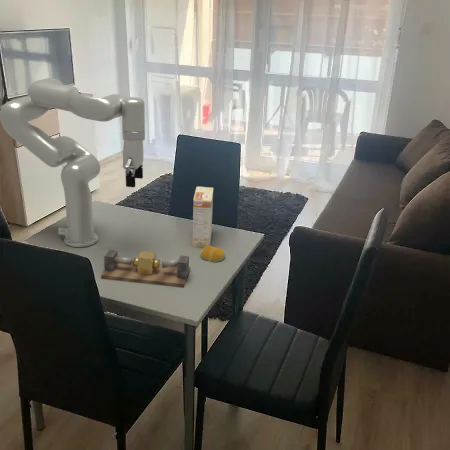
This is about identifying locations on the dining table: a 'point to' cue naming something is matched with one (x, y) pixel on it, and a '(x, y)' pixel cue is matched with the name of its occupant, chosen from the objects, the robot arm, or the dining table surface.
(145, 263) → the brass coupler
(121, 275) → the base
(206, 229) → the coffeecake box
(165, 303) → the dining table surface
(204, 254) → the bread roll
